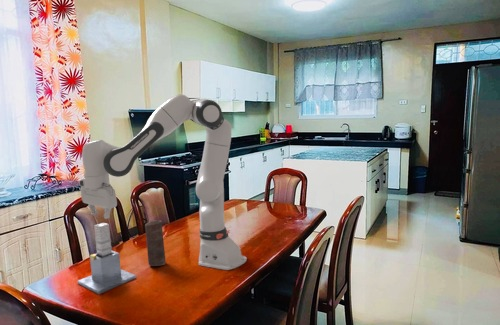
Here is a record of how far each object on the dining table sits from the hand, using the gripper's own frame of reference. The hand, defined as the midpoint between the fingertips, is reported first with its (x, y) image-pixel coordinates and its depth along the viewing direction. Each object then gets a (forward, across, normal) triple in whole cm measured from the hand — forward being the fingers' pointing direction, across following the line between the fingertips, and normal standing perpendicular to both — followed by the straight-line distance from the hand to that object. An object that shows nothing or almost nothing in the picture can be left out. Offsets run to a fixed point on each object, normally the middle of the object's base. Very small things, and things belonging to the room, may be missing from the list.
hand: (100, 216), depth 139 cm
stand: (+27, 0, 0) cm, 27 cm away
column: (+25, 0, 0) cm, 25 cm away
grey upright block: (+27, -5, -21) cm, 35 cm away
